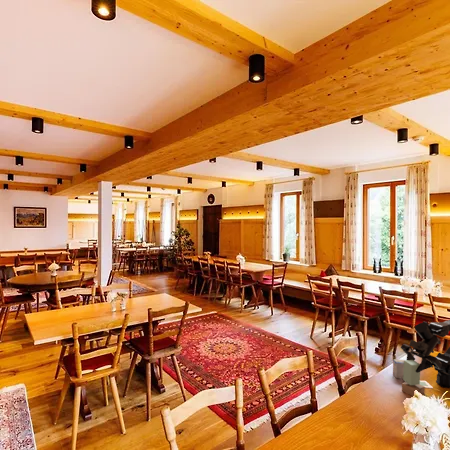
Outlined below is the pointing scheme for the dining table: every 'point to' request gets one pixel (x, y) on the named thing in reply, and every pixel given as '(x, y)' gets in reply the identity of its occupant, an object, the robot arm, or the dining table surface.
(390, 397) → the dining table surface
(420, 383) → the card
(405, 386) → the walnut base block
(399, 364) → the medicine box
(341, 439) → the dining table surface
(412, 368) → the sage block
